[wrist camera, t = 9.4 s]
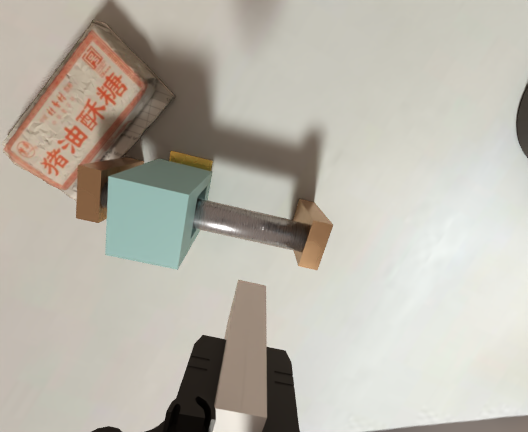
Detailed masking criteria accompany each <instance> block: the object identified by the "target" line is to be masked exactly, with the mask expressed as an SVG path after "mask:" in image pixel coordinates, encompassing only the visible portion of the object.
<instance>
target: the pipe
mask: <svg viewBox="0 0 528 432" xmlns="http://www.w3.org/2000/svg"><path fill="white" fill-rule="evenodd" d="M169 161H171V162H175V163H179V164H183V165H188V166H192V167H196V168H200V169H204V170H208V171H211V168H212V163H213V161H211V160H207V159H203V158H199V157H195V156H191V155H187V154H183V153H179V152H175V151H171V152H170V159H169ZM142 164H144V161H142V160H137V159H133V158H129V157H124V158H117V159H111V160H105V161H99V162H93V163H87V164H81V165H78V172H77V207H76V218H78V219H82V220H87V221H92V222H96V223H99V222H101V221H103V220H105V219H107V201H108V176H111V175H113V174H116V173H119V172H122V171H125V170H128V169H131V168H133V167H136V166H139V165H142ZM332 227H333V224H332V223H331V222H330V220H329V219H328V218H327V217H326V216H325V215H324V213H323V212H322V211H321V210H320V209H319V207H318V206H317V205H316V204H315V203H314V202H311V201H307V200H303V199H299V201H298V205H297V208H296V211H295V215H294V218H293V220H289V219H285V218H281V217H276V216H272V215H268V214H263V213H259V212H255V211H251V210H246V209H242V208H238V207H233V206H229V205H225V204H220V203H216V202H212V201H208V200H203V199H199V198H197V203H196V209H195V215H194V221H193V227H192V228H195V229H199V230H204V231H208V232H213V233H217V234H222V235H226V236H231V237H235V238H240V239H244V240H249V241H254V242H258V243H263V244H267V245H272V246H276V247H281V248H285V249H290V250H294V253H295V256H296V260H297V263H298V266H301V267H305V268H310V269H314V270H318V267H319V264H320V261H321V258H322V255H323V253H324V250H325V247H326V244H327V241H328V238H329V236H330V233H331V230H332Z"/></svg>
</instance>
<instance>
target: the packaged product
mask: <svg viewBox="0 0 528 432" xmlns="http://www.w3.org/2000/svg"><path fill="white" fill-rule="evenodd" d="M174 97H175V95H174V94H173V93H172V92H171V91H170V90H169V89H168V88H167V87H166V86H165V85H164V84H163V82H162V81H161V80H160V79H159V78H158V77H157V76H156V75H155V74H154V73H153V72H152V70H151V69H150V68H149V67H147V66H146V65H145V64H144V63H143V62H142V61H141V60H140V59H139V58H138V57H137V56H136V55H135V54H134V53H133V52H132V51H131V50H130V49H129V48H128V47H127V46H126V45H125V44H124V43H123V41H122V40H121V39H120V38H119V37H118V36H117V35H116V34H115V33H114V32H113V31H112V30H111V28H110V27H109V26H108V25H107V24H106V23H104V22H100V21H95V20H92V23H91V26H90V28H88V29H87V30H86V31H85V33H84V35H83V36H82V37H81V38H80V39H79V41H78V42H77V44H76V45H75V46H74V48H73V49H72V50H71V52H70V53H69V54H68V56H67V57H66V59H65V60H64V61H63V62H62V64H61V65H60V67H59V68H58V69H57V71H56V72H55V73H54V74H53V75H52V77H51V78H50V79H49V82H48V83H47V84H46V85H45V86H44V88H43V89H42V90H41V92H40V93H39V95H38V96H37V98H36V99H35V100H34V101H33V103H32V105H31V106H30V108H29V109H28V110H27V111H26V112H25V113H24V114H23V116H22V117H21V118H20V120H19V121H18V123H17V124H16V125H15V126H14V128H13V130H12V131H11V132H10V133H9V135H8V136H7V138H6V139H5V140H4V141H3V143H2V145H3V146H4V147H5V148H3V153H5V154H6V155H7V156H8V157H9V158H10V159H11V161H12V162H13V163H14V164H15V165H17V166H19V167H20V168H22V169H24V170H26V171H29V172H30V173H32V174H33V175H35V176H37V177H39V178H41V179H43V181H46V183H47V184H50V185H52V186H54V187H57V188H59V189H60V190H61V191H62V192H64V193H65V194H66V195H67V196H69V197H70V198H73V199H74V200H75V201H76V202H77V172H78V165H81V164H87V163H93V162H99V161H105V160H111V159H117V158H122V156H123V155H124V154H125V153H126V152H127V151H128V150H129V149H130V148H131V147H132V146H133V145H134V144H135V143H136V141H138V139H139V138H140V137H141V135H142V134H143V132H144V131H145V130H146V129H147V128H148V127H149V126H150V124H151V123H152V122H153V121H154V120H155V119H156V118H157V117H158V116H159V115H160V113H161V112H162V111H163V110H164V108H165V107H166V106H167V105H168V103H169V102H170V101H171V100H172V99H173V98H174Z"/></svg>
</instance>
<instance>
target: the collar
mask: <svg viewBox="0 0 528 432" xmlns="http://www.w3.org/2000/svg"><path fill="white" fill-rule="evenodd" d="M211 177H212V171H208V170H204V169H200V168H196V167H192V166H188V165H183V164H179V163H175V162H171V161H167V160H163V159H156V160H154V161H151V162H148V163H145V164H142V165H139V166H136V167H133V168H131V169H128V170H125V171H122V172H119V173H116V174H113V175H111V176H108V201H107V227H106V254H105V255H109V256H113V257H118V258H123V259H128V260H133V261H138V262H143V263H148V264H153V265H158V266H163V267H168V268H172V269H177V270H178V268H179V266H180V264H181V263H182V261H183V259H184V257H185V256H186V254H187V252H188V250H189V249H190V247H191V245H192V243H193V242H194V240H195V238H196V236H197V235H198V233H199V231H200V230H199V229H195V228H192V227H193V221H194V215H195V209H196V203H197V198H199V199H203V200H207V199H208V193H209V188H210V182H211Z"/></svg>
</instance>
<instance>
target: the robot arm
mask: <svg viewBox="0 0 528 432" xmlns="http://www.w3.org/2000/svg"><path fill="white" fill-rule="evenodd" d="M517 133H518V139H519V143H520V146H521V148H522V150H523V152H524V153H525V155H526V156H527V158H528V88H527V90H526V92H525V94H524V96H523V99H522V102H521V105H520V109H519V113H518V120H517ZM292 375H293V373H292V364H291V361H290V359H289V357H288V355H287V353H286V351H284V350H279V349H274V348H269V347H266V286H265V285H260V284H255V283H251V282H246V281H242V280H238V283H237V287H236V291H235V295H234V299H233V303H232V307H231V311H230V315H229V319H228V324H227V329H226V334H225V339H220V338H215V337H210V336H205V335H202V336H201V338H200V339H199V340H198V341H197V342H196V343H195V344H194V347H193V350H192V353H191V356H190V359H189V362H188V365H187V368H186V371H185V374H184V377H183V380H182V383H181V386H180V389H179V392H178V395H177V398H176V399H175V400H174V401H172V403H171V404H170V406H169V408H168V410H167V412H166V417H165V421H163V422H162V423H161V424H160V425H159V426H157V427H155V428H154V429H152V430H149V431H146V432H300V430H299V424H298V416H297V407H296V399H295V390H294V382H293V377H292ZM92 432H122V431H121V430H120V429H119V428H114V427H110V426H108V427H103V428H98V429H96V430H94V431H92Z"/></svg>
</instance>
